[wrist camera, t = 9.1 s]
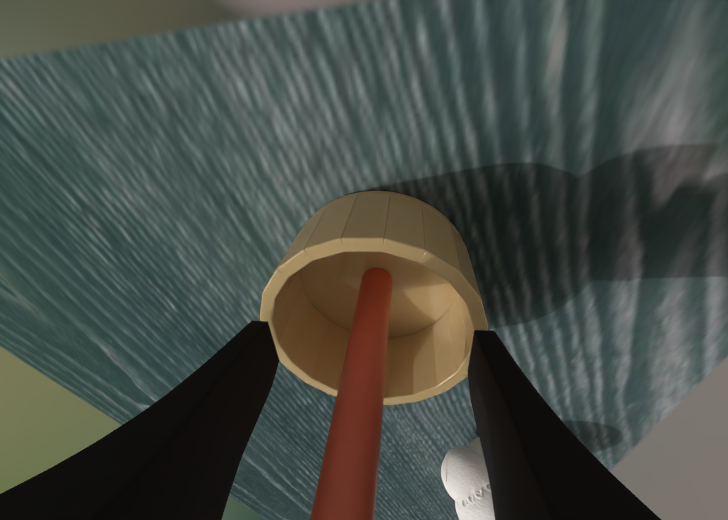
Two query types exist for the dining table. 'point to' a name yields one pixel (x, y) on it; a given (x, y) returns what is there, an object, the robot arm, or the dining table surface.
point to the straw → (358, 410)
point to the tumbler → (408, 301)
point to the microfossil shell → (468, 482)
